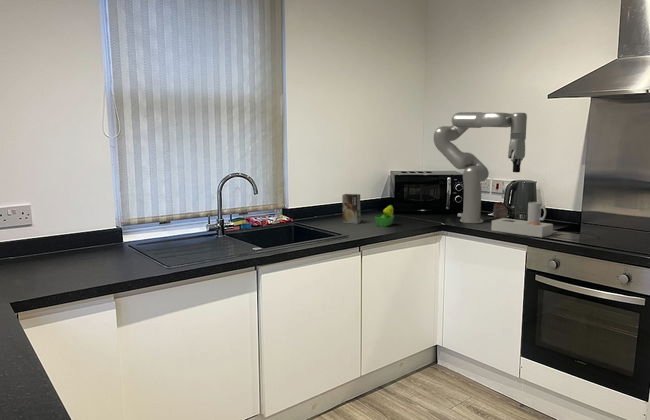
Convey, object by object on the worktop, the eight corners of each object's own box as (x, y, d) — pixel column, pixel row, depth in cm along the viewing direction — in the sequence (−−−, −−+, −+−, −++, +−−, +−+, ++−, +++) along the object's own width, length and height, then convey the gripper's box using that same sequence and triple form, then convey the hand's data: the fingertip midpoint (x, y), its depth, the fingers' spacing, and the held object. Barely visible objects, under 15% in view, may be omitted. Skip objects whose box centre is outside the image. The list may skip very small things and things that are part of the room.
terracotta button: (526, 232, 243) (527, 222, 242) (531, 230, 246) (531, 221, 246) (536, 233, 239) (537, 223, 239) (541, 232, 243) (541, 222, 242)
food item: (508, 220, 283) (509, 203, 282) (494, 220, 284) (495, 203, 283) (504, 216, 296) (505, 200, 295) (490, 216, 298) (491, 200, 296)
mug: (524, 224, 270) (525, 202, 268) (531, 223, 274) (532, 201, 272) (541, 226, 262) (543, 204, 260) (548, 225, 266) (549, 203, 264)
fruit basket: (381, 223, 277) (381, 203, 275) (396, 224, 273) (396, 204, 271) (373, 226, 267) (374, 205, 266) (389, 227, 263) (389, 206, 261)
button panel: (491, 230, 253) (491, 220, 252) (502, 227, 261) (503, 218, 260) (541, 237, 234) (542, 227, 233) (552, 234, 242) (553, 224, 242)
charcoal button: (502, 230, 253) (502, 220, 252) (506, 228, 256) (507, 219, 255) (511, 231, 249) (511, 222, 248) (516, 230, 252) (516, 220, 252)
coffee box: (361, 222, 280) (361, 194, 278) (357, 224, 275) (357, 195, 272) (345, 221, 284) (345, 193, 282) (342, 223, 278) (342, 194, 276)
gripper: (517, 136, 264) (516, 171, 267) (504, 137, 254) (502, 172, 257) (531, 136, 258) (529, 171, 261) (518, 136, 248) (516, 173, 251)
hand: (516, 172), depth 259 cm, fingers closed
